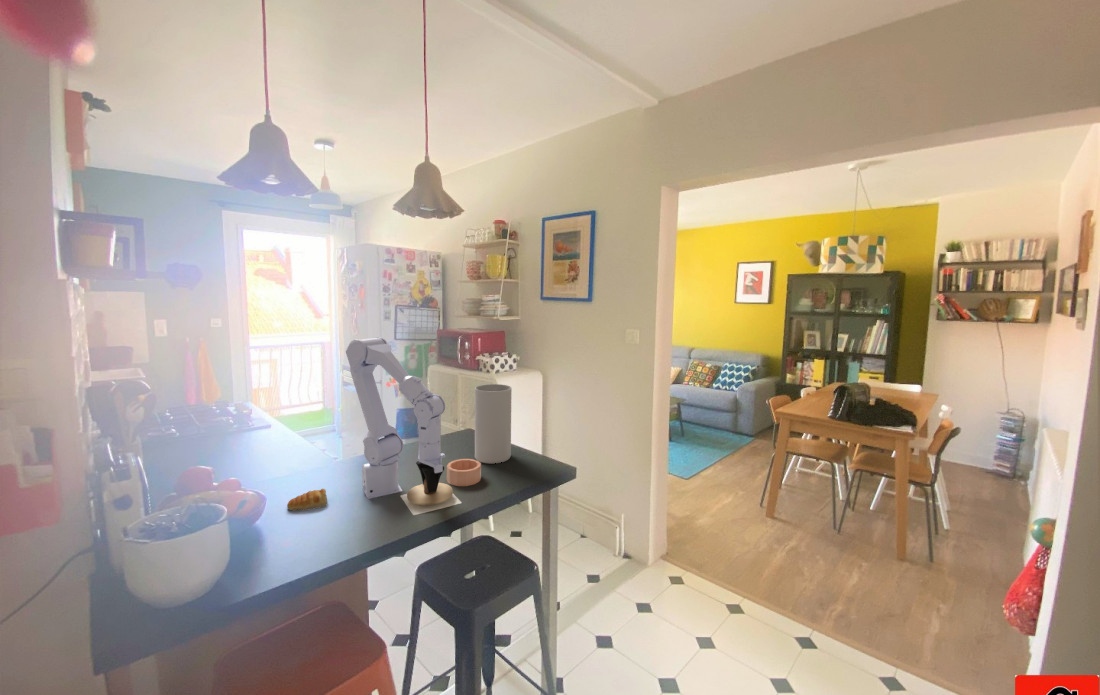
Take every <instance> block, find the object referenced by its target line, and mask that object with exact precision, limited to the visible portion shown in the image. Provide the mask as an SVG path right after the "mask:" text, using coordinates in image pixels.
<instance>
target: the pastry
mask: <svg viewBox="0 0 1100 695" xmlns="http://www.w3.org/2000/svg"><path fill="white" fill-rule="evenodd" d="M327 505H328V496H327V490H326V489H325V488H321V489H318V490H317V489H315V490H308V491H307V492H306V493H302V494H300V495H297V496H296V497H294V498H292V499H290V500H288V503H287V504H286V508H287V509H288V510H290V511H294V512H295V511H308V509H309V510H314V509H313V508H315V509H319V507H320V508H323V507H326V506H327Z"/></svg>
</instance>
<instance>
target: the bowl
mask: <svg viewBox="0 0 1100 695" xmlns="http://www.w3.org/2000/svg"><path fill="white" fill-rule="evenodd" d="M481 479H482V462H479V461H478V460H476V459H473V458H459V459H454V460H452V461H450V462H448V463H447V465H446V482H447V483H448V485H450V486H451V485H452V486H456V487H468V486H472V485H476V484H477V483H479V482H481Z"/></svg>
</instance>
